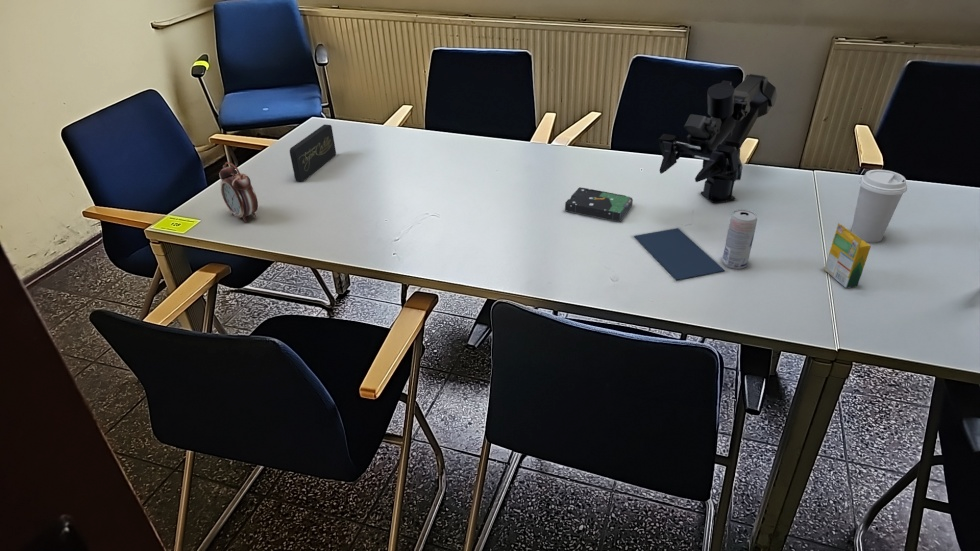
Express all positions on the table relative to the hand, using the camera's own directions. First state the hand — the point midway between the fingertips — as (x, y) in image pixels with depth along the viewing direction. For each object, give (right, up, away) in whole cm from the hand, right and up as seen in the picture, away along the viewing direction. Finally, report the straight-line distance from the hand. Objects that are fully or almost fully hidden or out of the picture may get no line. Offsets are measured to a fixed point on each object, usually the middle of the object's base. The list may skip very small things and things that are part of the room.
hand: (677, 176), depth 148 cm
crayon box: (+32, -23, -9) cm, 40 cm away
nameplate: (-94, +9, +48) cm, 106 cm away
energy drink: (+12, -20, -3) cm, 23 cm away
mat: (0, -17, +1) cm, 17 cm away
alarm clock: (-106, -7, +22) cm, 109 cm away
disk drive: (-15, -6, +20) cm, 26 cm away
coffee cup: (+45, -13, +5) cm, 48 cm away
